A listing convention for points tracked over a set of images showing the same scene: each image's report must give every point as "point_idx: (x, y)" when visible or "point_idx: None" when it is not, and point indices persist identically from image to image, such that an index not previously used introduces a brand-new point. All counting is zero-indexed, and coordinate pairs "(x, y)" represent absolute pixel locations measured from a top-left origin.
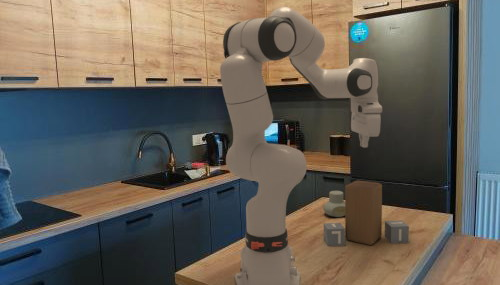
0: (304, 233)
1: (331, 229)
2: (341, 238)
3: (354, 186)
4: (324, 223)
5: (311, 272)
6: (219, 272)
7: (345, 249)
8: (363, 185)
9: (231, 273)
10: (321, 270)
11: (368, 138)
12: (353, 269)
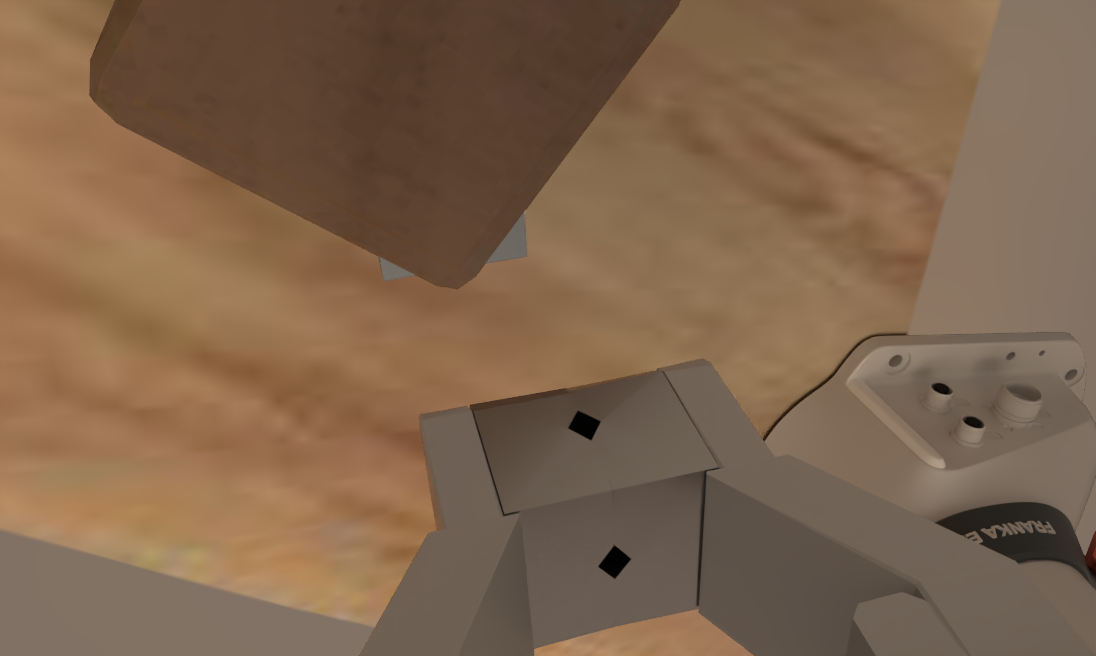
0: (256, 345)
1: (523, 224)
2: None
3: (525, 193)
4: (386, 274)
5: (845, 287)
6: None
7: None
8: (506, 67)
9: None
10: (835, 240)
11: (964, 563)
12: (862, 65)
